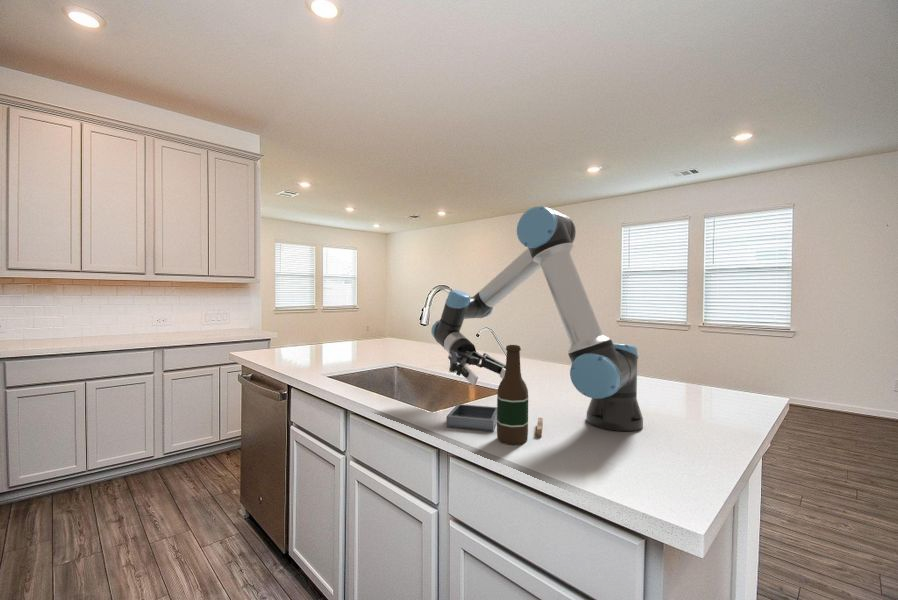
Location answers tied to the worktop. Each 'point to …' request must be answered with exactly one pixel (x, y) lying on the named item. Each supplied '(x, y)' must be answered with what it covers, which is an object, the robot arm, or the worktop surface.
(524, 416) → the beer bottle
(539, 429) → the jamb strip
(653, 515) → the worktop surface
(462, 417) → the keeper
